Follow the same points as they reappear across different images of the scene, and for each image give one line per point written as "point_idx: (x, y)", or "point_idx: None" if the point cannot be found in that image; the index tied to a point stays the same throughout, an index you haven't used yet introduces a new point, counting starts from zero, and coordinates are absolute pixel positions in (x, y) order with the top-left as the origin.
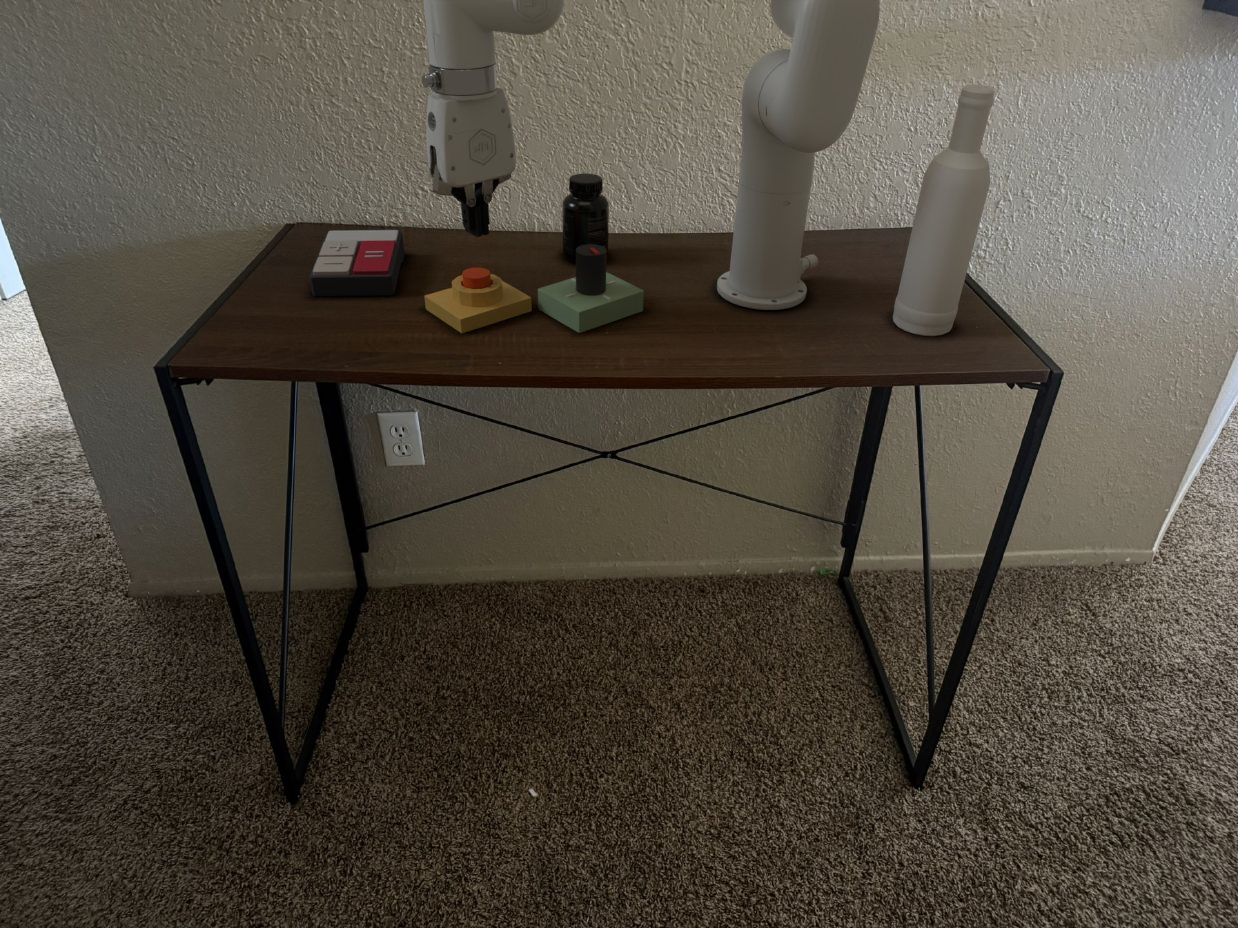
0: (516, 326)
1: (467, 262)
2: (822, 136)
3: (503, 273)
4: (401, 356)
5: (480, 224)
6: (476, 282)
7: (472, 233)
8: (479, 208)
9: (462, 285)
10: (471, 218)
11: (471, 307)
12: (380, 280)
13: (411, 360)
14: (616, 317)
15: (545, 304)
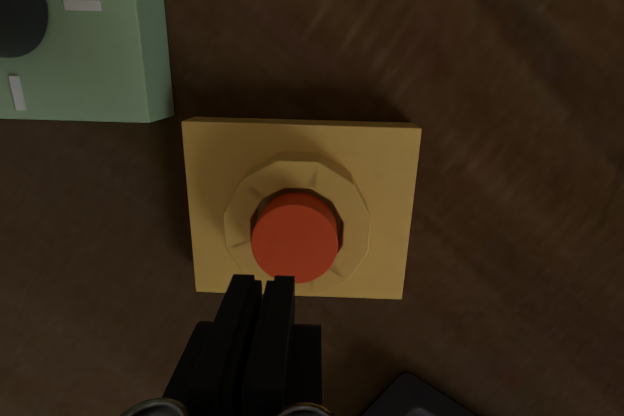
0: (277, 67)
1: None
2: None
3: (144, 326)
4: (598, 112)
5: (272, 306)
6: (319, 207)
7: (294, 319)
8: (255, 376)
9: None
10: (303, 359)
11: (353, 171)
12: (435, 409)
13: (597, 77)
14: None
15: (160, 80)
